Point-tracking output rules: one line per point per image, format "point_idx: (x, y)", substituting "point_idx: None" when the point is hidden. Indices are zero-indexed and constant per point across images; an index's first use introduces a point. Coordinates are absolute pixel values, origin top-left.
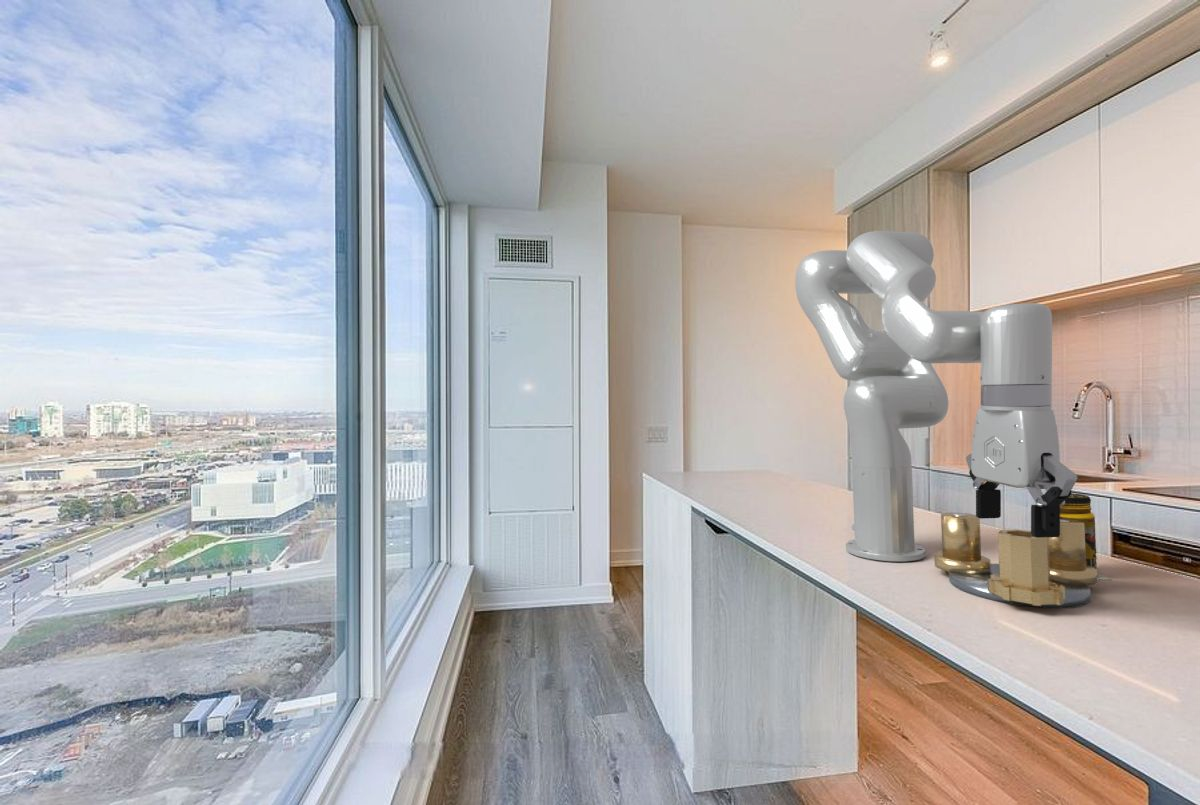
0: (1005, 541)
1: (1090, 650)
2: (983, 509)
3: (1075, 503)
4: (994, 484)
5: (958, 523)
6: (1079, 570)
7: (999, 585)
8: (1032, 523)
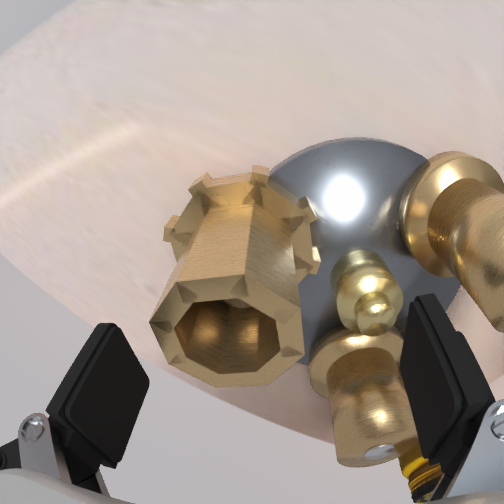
0: (209, 264)
1: (47, 210)
2: (422, 339)
3: (418, 487)
4: (449, 478)
5: (499, 247)
6: (326, 380)
7: (224, 183)
8: (87, 354)
